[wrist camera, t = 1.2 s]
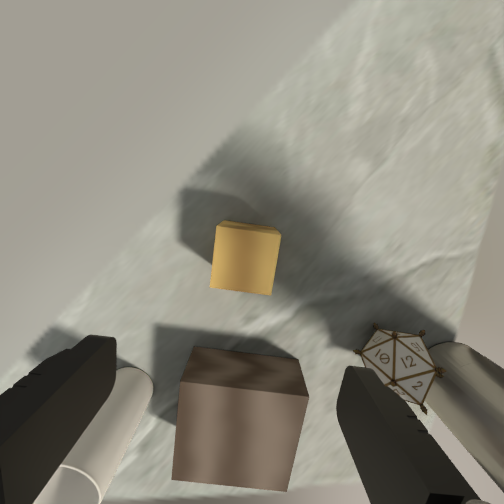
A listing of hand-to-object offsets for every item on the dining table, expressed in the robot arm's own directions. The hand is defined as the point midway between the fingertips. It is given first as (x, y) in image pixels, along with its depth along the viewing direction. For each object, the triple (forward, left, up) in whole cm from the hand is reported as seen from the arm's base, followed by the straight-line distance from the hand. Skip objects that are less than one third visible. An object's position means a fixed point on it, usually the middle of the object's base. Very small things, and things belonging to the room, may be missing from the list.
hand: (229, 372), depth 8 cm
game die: (-19, +10, -20) cm, 30 cm away
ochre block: (0, 0, -20) cm, 20 cm away
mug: (+13, +23, -20) cm, 33 cm away
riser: (-2, +21, -20) cm, 29 cm away
